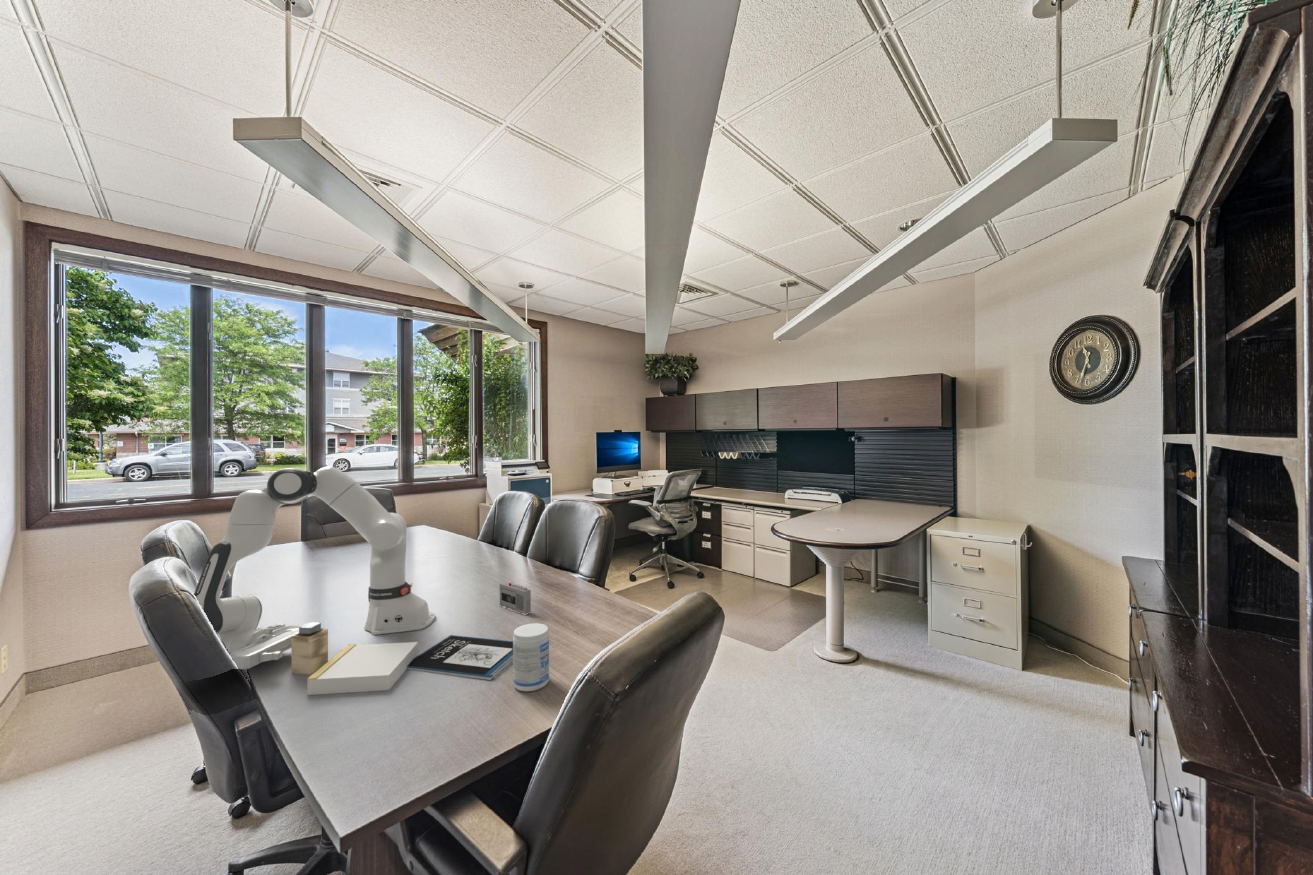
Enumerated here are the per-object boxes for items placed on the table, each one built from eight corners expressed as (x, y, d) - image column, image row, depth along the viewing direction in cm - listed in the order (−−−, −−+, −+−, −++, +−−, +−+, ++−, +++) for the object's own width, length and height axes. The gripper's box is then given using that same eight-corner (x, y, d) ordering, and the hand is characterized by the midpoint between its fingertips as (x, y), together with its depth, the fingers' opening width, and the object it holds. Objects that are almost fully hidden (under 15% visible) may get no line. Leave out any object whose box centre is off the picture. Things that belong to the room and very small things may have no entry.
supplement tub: (549, 690, 123) (549, 635, 123) (511, 695, 121) (511, 638, 121) (549, 672, 132) (549, 621, 132) (514, 676, 130) (514, 624, 130)
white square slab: (418, 654, 143) (418, 640, 143) (389, 690, 123) (389, 673, 123) (348, 658, 141) (348, 644, 141) (307, 695, 121) (307, 678, 121)
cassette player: (499, 606, 184) (499, 581, 184) (505, 604, 186) (505, 579, 186) (524, 615, 175) (524, 589, 175) (530, 613, 177) (530, 587, 177)
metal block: (310, 634, 137) (310, 622, 137) (320, 635, 136) (320, 622, 136) (299, 639, 133) (299, 627, 133) (310, 640, 133) (310, 628, 133)
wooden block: (310, 662, 138) (310, 627, 138) (328, 664, 137) (327, 628, 137) (291, 672, 132) (291, 636, 132) (310, 674, 131) (310, 637, 131)
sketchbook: (450, 639, 156) (450, 632, 156) (532, 648, 149) (532, 641, 149) (401, 670, 135) (401, 662, 135) (493, 682, 128) (493, 675, 128)
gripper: (216, 650, 127) (260, 654, 125) (286, 621, 147) (324, 623, 145) (216, 673, 127) (260, 677, 125) (286, 640, 147) (324, 643, 145)
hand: (295, 648), depth 135 cm, fingers open, 8 cm apart
